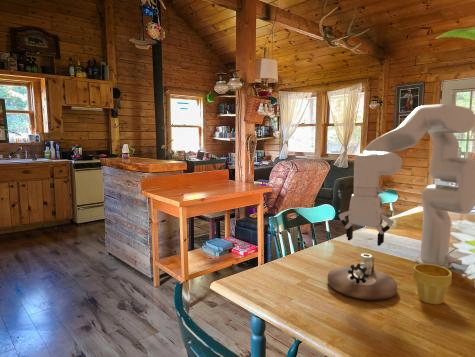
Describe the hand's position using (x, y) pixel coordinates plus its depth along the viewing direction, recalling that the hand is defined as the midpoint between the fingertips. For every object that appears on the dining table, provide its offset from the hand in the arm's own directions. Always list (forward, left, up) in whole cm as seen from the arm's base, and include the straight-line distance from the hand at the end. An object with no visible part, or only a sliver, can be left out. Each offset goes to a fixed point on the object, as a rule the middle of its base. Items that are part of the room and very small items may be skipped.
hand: (364, 241), depth 111 cm
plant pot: (-20, -3, -16) cm, 26 cm away
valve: (0, -1, -13) cm, 13 cm away
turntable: (0, +1, -14) cm, 15 cm away
